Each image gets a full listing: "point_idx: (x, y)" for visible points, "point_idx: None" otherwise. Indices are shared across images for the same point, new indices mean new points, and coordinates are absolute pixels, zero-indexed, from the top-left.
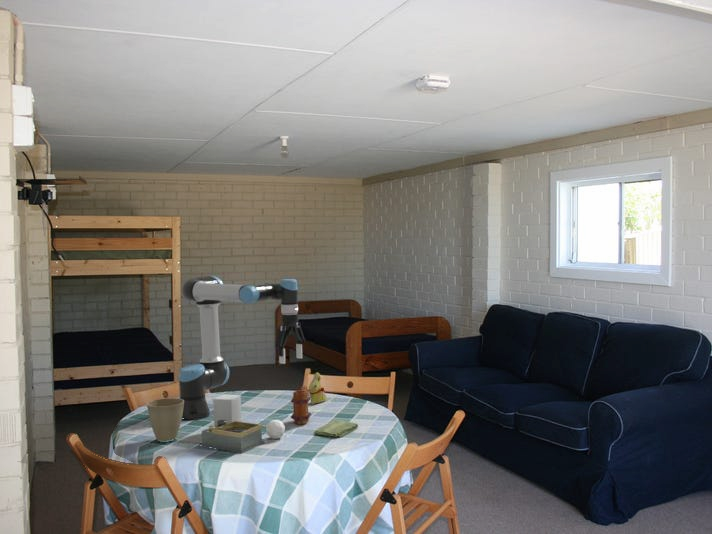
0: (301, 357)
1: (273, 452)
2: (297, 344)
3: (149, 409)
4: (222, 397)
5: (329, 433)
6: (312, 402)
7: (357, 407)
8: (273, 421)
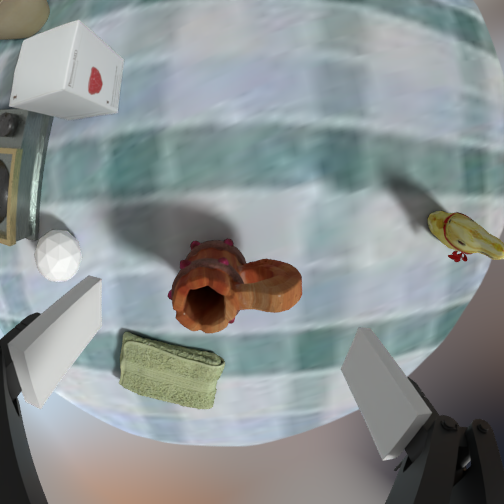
0: (343, 374)
1: (10, 283)
2: (405, 426)
3: None
4: (32, 55)
5: (121, 370)
6: (429, 220)
7: (395, 348)
8: (37, 262)
